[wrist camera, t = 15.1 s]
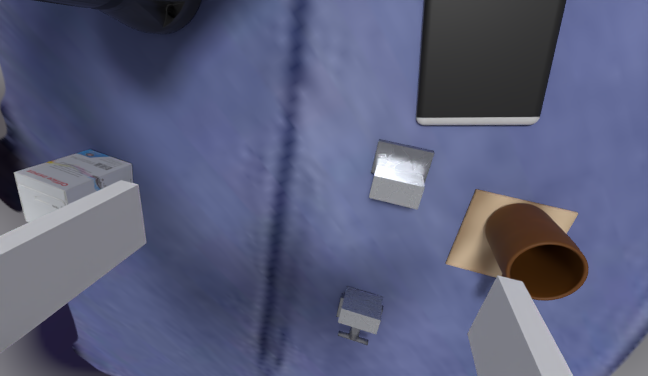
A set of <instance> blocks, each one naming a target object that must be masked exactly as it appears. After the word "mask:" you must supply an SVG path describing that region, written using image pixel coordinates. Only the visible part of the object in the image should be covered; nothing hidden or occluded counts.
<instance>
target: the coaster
mask: <svg viewBox="0 0 648 376" xmlns="http://www.w3.org/2000/svg"><path fill="white" fill-rule="evenodd" d="M514 203H526V204H531V205H534V206H536V207H538V208H540V209H542V210H543V211H544V212H546V213H547V214H548V215H549V216H550V217H551V218H552V219H553V221H554V222H555V223H556V224H557V225H558V226H559V227H560V228H561V229H562V230H563V231H564V232H565V233H566V234H567V232H568V230H569V229H570V227H571V225H572V224H573V222H574V220H575V219H576V217H577V215H578V213H577V212H574V211H569V210H565V209H561V208H556V207H552V206H548V205H543V204H539V203H535V202H530V201H526V200H521V199H517V198H513V197H508V196H504V195H500V194H495V193H491V192H487V191H482V190H478V189H476V190H475V192H474V195H473V197H472V200H471V202H470V205H469V207H468V209H467V212H466V214H465V217H464V219H463V222H462V224H461V226H460V229H459V231H458V234H457V236H456V239H455V241H454V243H453V246H452V248H451V251H450V253H449V256H448V258H447V260H446V264H448V265H451V266H455V267H459V268H463V269H466V270H470V271H474V272H477V273H481V274H485V275H489V276H492V277H497V275H498V276H502V272H501V270H500V268H499V266H498V263H497V261H496V259H495V257H494V255H493V252H492V250H491V248H490V245H489V243H488V241H487V238H486V234H485V228H486V223H487V221H488V219H489V218H490V216H491V215H492V214H493V213H494V212H495V211H497V210H498V209H500V208H501V207H504V206H506V205H509V204H514Z"/></svg>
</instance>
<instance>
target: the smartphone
mask: <svg viewBox="0 0 648 376" xmlns="http://www.w3.org/2000/svg"><path fill="white" fill-rule="evenodd" d="M565 4H566V0H424V9H423V24H422V39H421V53H420V68H419V83H418V97H417V112H416V119H417V122H418V123H419V124H421V125H531V124H534V123H536V122H537V121H538V120H539V118H540V114H541V110H542V105H543V101H544V97H545V92H546V88H547V83H548V79H549V74H550V70H551V66H552V61H553V57H554V52H555V48H556V44H557V39H558V35H559V30H560V26H561V22H562V17H563V13H564V8H565Z"/></svg>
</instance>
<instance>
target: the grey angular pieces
mask: <svg viewBox="0 0 648 376" xmlns="http://www.w3.org/2000/svg"><path fill="white" fill-rule="evenodd" d="M433 156H434V151H432V150H427V149H422V148H418V147H413V146H409V145H404V144H399V143H395V142H390V141H385V140H381V139H379V142H378V146H377V150H376V155H375V159H374V163H373V167H372V171H371V173H375V175H374V179H373V183H372V187H371V191H370V195H369V198H372V199H377V200H381V201H385V202H389V203H393V204H397V205H401V206H405V207H409V208H413V209H418V206H419V203H420V200H421V197H422V194H423V191H424V188H425V186H424V183H425V180H426V177H427V174H428V171H429V168H430V165H431V162H432V159H433ZM382 300H383V297H382V296H379V295H375V294H372V293H369V292H365V291H362V290H358V289H355V288H352V287H348V286H347V288H346V292H345V294H343V293H342V296H341V300H340V304H339V308H338V312H337V316H336V317H339V320H338V323H341V324H344V325H348V326H351V329H350V332H349V333H345V332H342V331H339V333H338V336H341V337H344V338H347V339H350V340H353V341H356V342H359V343H362V344H366V345H368V340H367V339H364V338H361V337H359V334H360V330H364V331H367V332H370V333H373V334H376V333H377V330H378V327H379V324H380V321H381V314H382V311H383V305H382Z"/></svg>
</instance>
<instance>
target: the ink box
mask: <svg viewBox="0 0 648 376" xmlns="http://www.w3.org/2000/svg"><path fill="white" fill-rule="evenodd" d="M14 176H15V180H16V183H17V188H18V192H19V196H20V200H21V205H22V209H23V213H24V217H25V221H27V222H31V221H33V220H36V219H38V218H40V217H42V216H44V215H46V214H49V213H51V212H53V211H55V210H57V209H59V208H62V207H64V206H66V205H68V204H70V203H72V202H75V201H77V200H79V199H81V198H83V197H85V196H88V195H90V194H92V193H94V192H96V191H98V190H101V189H103V188H105V187H107V186H109V185H111V184H114V183H116V182H118V181H120V180H123V181H127V182H131V183H133V174H132V164H131V163H128V162H125V161H122V160H119V159H116V158H113V157H111V156H108V155H105V154H102V153H99V152H96V151H93V150H91V149H89V150H86V151H83V152H79V153H76V154H73V155H69V156H66V157H63V158H60V159H56V160H53V161H50V162H47V163H43V164H40V165H37V166H33V167H30V168H27V169H23V170H20V171H17V172H14Z"/></svg>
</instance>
